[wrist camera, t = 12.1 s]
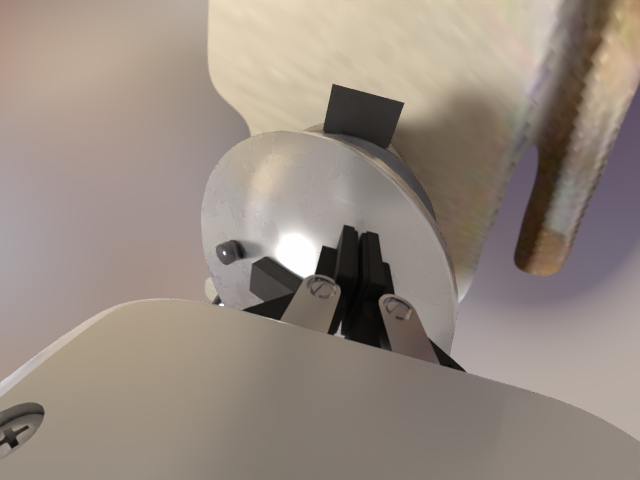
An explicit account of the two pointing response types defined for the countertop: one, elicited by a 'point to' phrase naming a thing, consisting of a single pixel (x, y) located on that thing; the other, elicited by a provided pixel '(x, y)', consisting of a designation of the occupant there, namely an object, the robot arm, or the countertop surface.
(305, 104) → the countertop surface
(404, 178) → the cooker pot
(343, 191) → the lid
